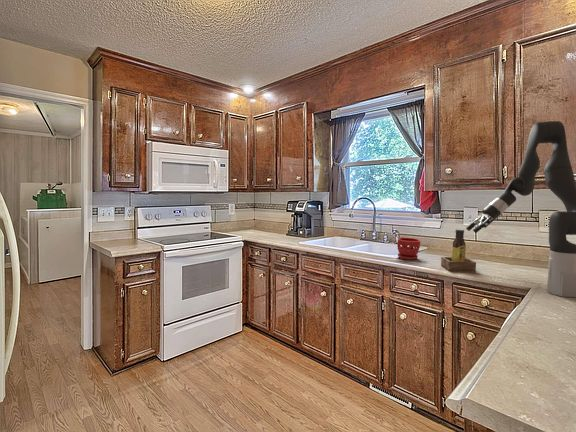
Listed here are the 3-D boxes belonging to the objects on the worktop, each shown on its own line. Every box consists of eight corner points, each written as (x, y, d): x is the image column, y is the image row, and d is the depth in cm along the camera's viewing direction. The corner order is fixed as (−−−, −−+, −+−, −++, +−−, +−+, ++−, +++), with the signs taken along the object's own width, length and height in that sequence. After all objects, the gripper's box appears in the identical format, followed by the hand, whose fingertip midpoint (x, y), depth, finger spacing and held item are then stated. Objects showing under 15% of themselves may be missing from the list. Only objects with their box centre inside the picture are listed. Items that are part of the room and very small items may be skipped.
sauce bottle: (461, 268, 168) (462, 230, 166) (449, 266, 173) (450, 229, 171) (467, 267, 172) (468, 229, 170) (455, 264, 177) (456, 228, 175)
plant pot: (396, 259, 194) (397, 240, 193) (396, 255, 207) (397, 236, 206) (420, 261, 190) (421, 241, 189) (419, 256, 203) (419, 237, 202)
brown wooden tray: (475, 272, 165) (476, 262, 165) (448, 271, 167) (449, 261, 167) (466, 266, 177) (466, 257, 177) (441, 265, 179) (441, 256, 179)
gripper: (483, 203, 174) (460, 224, 177) (497, 204, 160) (471, 227, 163) (493, 213, 174) (470, 234, 176) (508, 215, 160) (482, 237, 162)
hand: (470, 230), depth 170 cm, fingers open, 8 cm apart
